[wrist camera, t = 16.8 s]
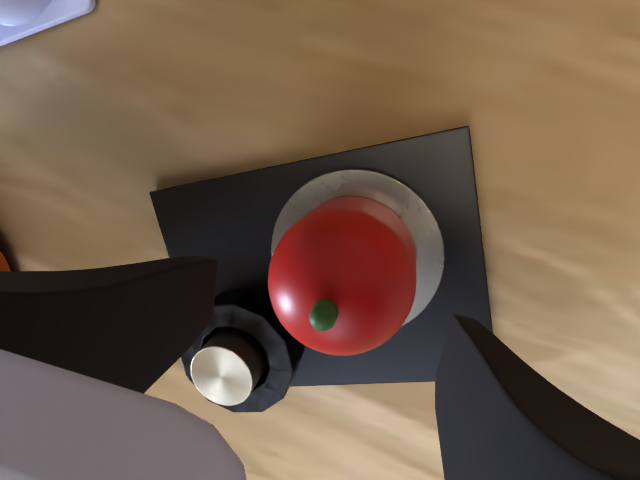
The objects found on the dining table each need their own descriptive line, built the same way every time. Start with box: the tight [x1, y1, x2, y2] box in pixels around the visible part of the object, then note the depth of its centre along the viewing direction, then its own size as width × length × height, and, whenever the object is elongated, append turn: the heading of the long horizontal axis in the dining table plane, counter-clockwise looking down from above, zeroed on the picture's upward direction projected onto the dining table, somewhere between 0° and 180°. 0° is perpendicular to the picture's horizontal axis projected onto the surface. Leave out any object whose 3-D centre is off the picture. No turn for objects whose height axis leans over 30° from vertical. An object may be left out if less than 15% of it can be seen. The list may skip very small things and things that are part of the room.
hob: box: [150, 126, 493, 412], centre depth 19 cm, size 12×16×3 cm
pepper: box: [268, 196, 417, 356], centre depth 14 cm, size 5×5×6 cm
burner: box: [271, 169, 444, 326], centre depth 17 cm, size 8×8×1 cm
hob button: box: [191, 329, 266, 406], centre depth 19 cm, size 3×3×2 cm
